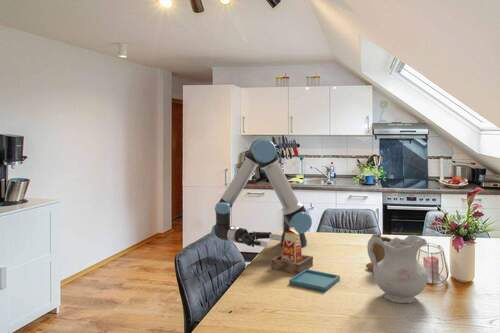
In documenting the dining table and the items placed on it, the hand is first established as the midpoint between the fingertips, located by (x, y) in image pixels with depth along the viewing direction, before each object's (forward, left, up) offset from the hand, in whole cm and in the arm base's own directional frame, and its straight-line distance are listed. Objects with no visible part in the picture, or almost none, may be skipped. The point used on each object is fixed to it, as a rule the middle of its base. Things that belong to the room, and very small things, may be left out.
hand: (274, 241), depth 197 cm
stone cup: (+47, +20, -11) cm, 52 cm away
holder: (+10, 0, -11) cm, 15 cm away
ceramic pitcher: (+60, -10, -11) cm, 62 cm away
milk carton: (+10, -1, -11) cm, 15 cm away
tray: (+27, -12, -11) cm, 31 cm away
